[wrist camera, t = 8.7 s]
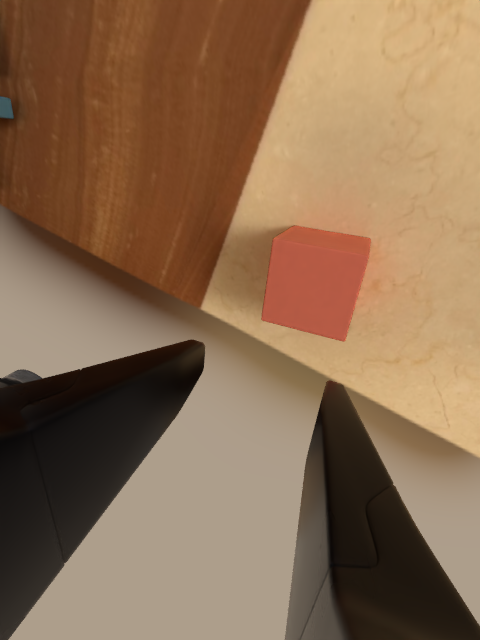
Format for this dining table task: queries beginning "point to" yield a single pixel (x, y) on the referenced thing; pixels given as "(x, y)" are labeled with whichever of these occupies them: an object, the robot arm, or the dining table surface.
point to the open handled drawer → (6, 108)
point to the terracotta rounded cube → (315, 280)
